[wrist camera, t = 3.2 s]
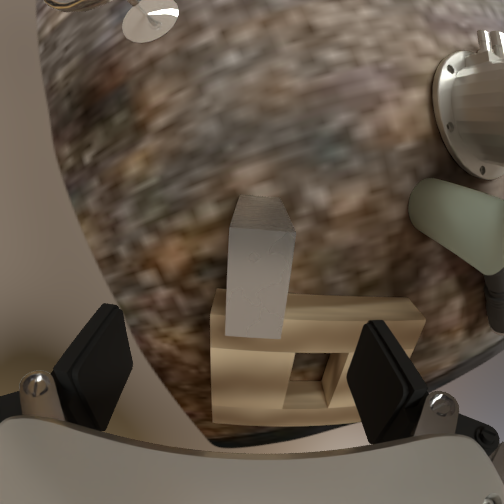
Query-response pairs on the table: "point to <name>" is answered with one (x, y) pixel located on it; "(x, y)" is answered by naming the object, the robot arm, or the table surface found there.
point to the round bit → (461, 221)
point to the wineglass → (131, 16)
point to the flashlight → (495, 301)
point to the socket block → (282, 356)
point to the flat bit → (258, 267)
